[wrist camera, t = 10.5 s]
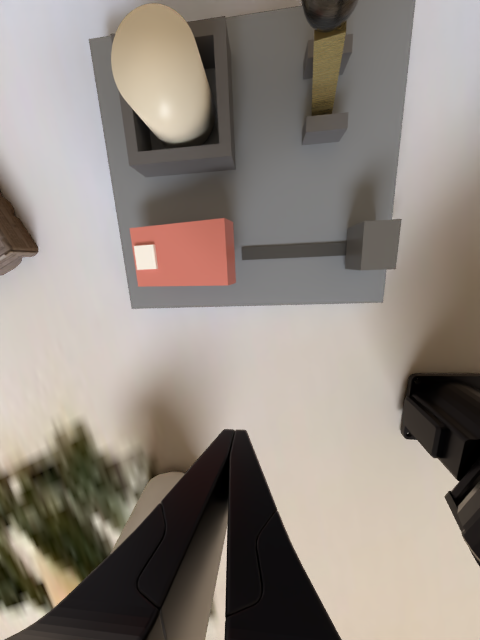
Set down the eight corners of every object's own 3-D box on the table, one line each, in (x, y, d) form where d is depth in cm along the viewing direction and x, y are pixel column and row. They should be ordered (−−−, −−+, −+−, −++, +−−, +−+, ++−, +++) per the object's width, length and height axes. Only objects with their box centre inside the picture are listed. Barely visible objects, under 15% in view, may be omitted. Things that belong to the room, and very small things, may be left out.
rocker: (233, 221, 15) (223, 217, 14) (236, 283, 16) (226, 285, 15) (145, 230, 17) (127, 227, 16) (152, 284, 18) (136, 286, 17)
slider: (377, 226, 16) (401, 219, 13) (373, 267, 17) (395, 269, 14) (347, 227, 16) (364, 221, 13) (344, 268, 17) (360, 270, 14)
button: (212, 67, 14) (193, -5, 10) (217, 148, 15) (201, 111, 12) (145, 76, 15) (103, 11, 11) (154, 154, 16) (119, 120, 12)
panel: (405, 21, 15) (458, -68, 11) (377, 298, 19) (407, 308, 15) (108, 64, 17) (60, 2, 13) (143, 304, 21) (115, 314, 17)
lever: (342, 73, 14) (379, -121, 7) (339, 116, 14) (371, -22, 7) (304, 82, 14) (301, -88, 7) (303, 124, 15) (300, 2, 8)
